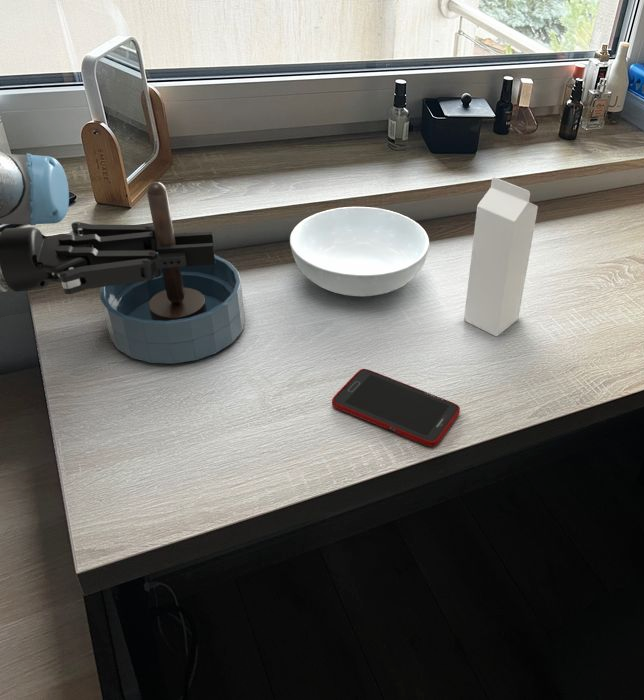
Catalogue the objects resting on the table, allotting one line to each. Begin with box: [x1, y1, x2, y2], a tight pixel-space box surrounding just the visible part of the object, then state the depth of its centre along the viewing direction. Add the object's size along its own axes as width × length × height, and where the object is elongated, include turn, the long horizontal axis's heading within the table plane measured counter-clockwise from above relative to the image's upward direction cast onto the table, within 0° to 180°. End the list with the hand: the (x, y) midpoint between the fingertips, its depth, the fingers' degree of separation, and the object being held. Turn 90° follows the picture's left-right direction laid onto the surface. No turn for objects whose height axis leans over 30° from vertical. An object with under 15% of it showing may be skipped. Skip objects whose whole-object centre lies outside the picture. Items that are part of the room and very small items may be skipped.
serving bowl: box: [289, 206, 430, 297], centre depth 111 cm, size 21×21×7 cm
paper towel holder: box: [146, 181, 207, 321], centre depth 92 cm, size 7×7×20 cm
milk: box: [463, 176, 539, 337], centre depth 101 cm, size 6×6×22 cm
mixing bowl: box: [99, 252, 246, 364], centre depth 97 cm, size 17×17×7 cm
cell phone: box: [331, 368, 461, 448], centre depth 90 cm, size 8×15×1 cm, turn 65°
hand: (213, 247), depth 93 cm, fingers closed on paper towel holder, 2 cm apart
